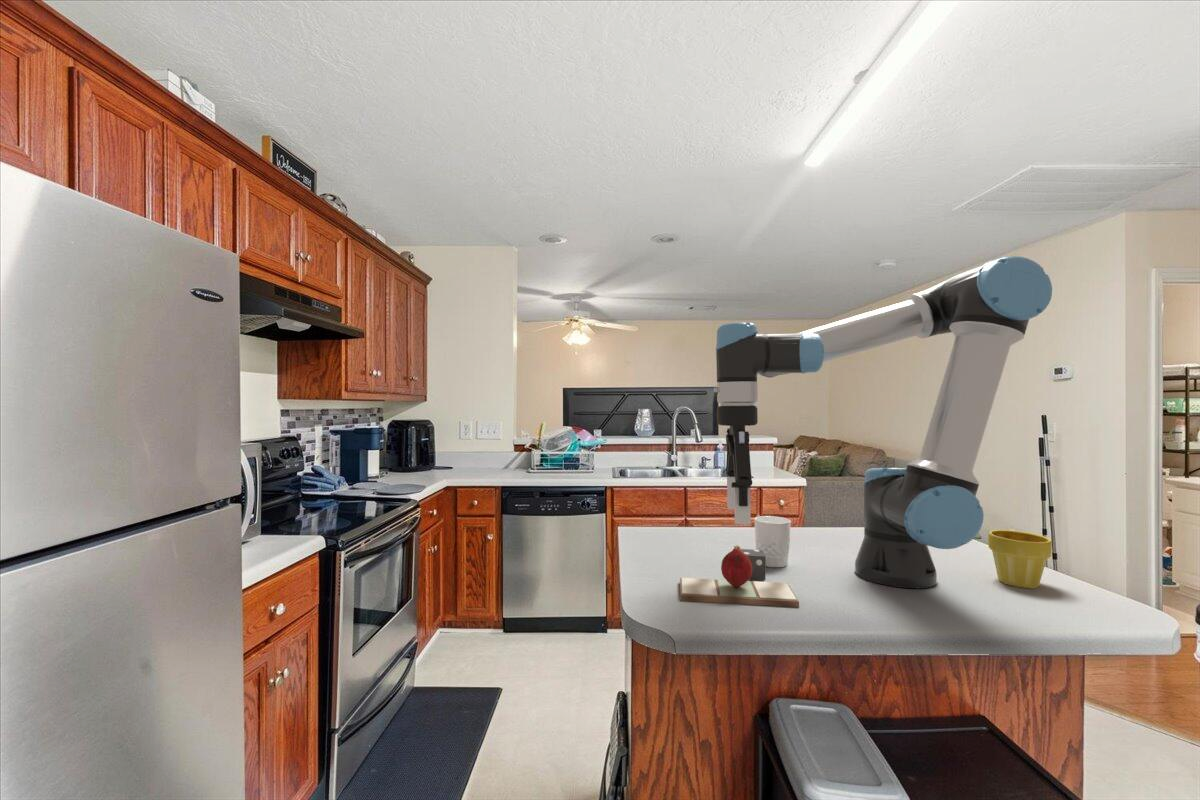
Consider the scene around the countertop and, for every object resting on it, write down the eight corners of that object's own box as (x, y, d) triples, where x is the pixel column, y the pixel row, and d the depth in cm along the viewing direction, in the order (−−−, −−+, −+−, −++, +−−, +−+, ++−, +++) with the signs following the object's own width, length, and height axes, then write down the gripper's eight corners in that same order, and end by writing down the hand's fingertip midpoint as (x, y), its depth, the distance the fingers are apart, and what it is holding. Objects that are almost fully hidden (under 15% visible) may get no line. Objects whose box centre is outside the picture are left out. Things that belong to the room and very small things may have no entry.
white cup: (795, 568, 120) (795, 523, 120) (759, 568, 120) (760, 523, 120) (783, 558, 128) (784, 516, 128) (750, 558, 128) (750, 515, 128)
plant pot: (1064, 593, 105) (1064, 543, 105) (1005, 590, 107) (1005, 540, 107) (1031, 576, 116) (1031, 530, 116) (977, 573, 117) (978, 528, 117)
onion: (753, 594, 100) (753, 550, 100) (721, 591, 101) (721, 549, 101) (750, 583, 106) (751, 542, 106) (720, 581, 107) (721, 541, 107)
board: (787, 588, 107) (787, 582, 107) (799, 607, 97) (799, 600, 97) (680, 582, 110) (680, 576, 110) (680, 600, 100) (680, 593, 100)
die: (761, 573, 117) (761, 549, 117) (765, 580, 112) (765, 555, 112) (737, 571, 118) (738, 548, 118) (740, 579, 112) (740, 554, 112)
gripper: (712, 404, 116) (713, 503, 116) (722, 405, 92) (724, 530, 92) (748, 404, 115) (749, 504, 115) (768, 404, 91) (769, 531, 91)
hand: (738, 516), depth 103 cm, fingers open, 13 cm apart
